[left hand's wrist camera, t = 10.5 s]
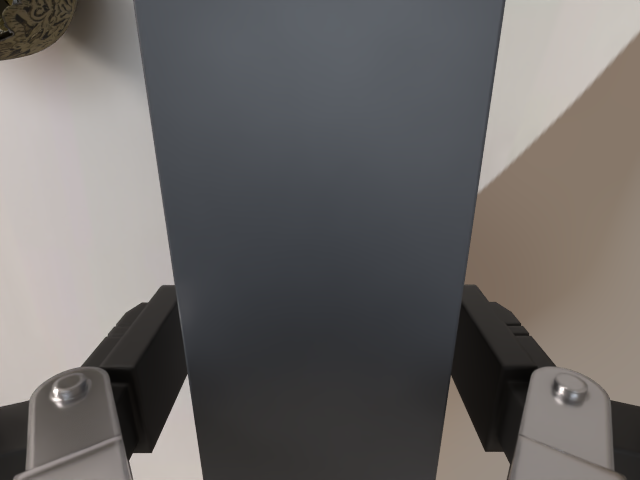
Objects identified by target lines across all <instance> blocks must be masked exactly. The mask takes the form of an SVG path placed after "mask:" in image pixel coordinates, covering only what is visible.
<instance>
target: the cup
mask: <svg viewBox="0 0 640 480" xmlns="http://www.w3.org/2000/svg"><path fill="white" fill-rule="evenodd" d="M77 3H78V0H0V60H8V59H14V58H19V57H24V56H28V55H31V54H34V53H37V52H39V51H41V50H44V49H45V48H47V47H49V46H51V45H52V44H53V43H55V42H56V41H57V40H58V39H59V38H60V37H61V36H62V35H63V33H64V32H65V31H66V30H67V28H68V26H69V24H70V22H71V20H72V17H73V14H74V13H75V10H76V8H77Z"/></svg>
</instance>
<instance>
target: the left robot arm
mask: <svg viewBox="0 0 640 480" xmlns="http://www.w3.org/2000/svg"><path fill="white" fill-rule="evenodd" d="M187 374H188V371H187V364H186V358H185V351H184V344H183V337H182V330H181V323H180V317H179V310H178V303H177V296H176V289H175V285H162V286H161V287H160V288H159V289H158V291H157V292H156V293H155V295H154V296H153V297H152V299H151V300H150V301H149V302H148V303H141V304H139V305H137V306H136V307H134V308H133V309H131V310H129V311H128V312H126V313H125V315H124V316H123V317H122V318H121V319H120V321H119V322H118V323H117V324H116V327H114V328H113V329H112V330H111V331H110V332H109V334H108V337H105V338H104V340H103V341H102V342H101V343H100V344H99V346H98V347H97V348H96V349H95V350H94V352H93V353H92V354H91V355H90V356H89V358H88V359H87V360H86V361H85V362H84V364H83V365H82V366H81V367H79V368H74V369H70V370H67V371H64V372H62V373H59V374H57V375H55V376H53V377H51V378H50V379H48V380H47V381H45V382H44V383H43V384H41V385H40V386H39V387H38V388H37V389H36V390H35V391H34V393H33V394H32V396H31V398H30V400H29V401H25V402H21V403H16V404H12V405H7V406H2V407H0V480H133V476H132V472H131V467H130V463H129V460H130V458H131V456H132V454H133V453H152V451H153V449H154V447H155V445H156V442H157V440H158V438H159V436H160V434H161V431H162V429H163V427H164V425H165V423H166V420H167V418H168V416H169V414H170V411H171V409H172V407H173V405H174V403H175V400H176V398H177V396H178V394H179V392H180V389H181V387H182V385H183V383H184V380H185V378H186V376H187ZM451 376H452V378H453V380H454V383H455V385H456V387H457V389H458V392H459V394H460V396H461V398H462V401H463V403H464V405H465V407H466V409H467V412H468V414H469V416H470V418H471V421H472V423H473V425H474V427H475V430H476V432H477V434H478V436H479V439H480V441H481V443H482V445H483V448H484V450H485V452H504V453H505V455H506V457H507V459H508V461H509V463H510V467H509V472H508V476H507V480H640V406H635V405H630V404H626V403H621V402H616V401H612V400H610V398H609V396H608V394H607V393H606V391H605V390H604V389H603V388H602V387H601V386H600V385H599V384H597V383H596V382H595V381H593V380H592V379H590V378H588V377H587V376H585V375H583V374H581V373H578V372H576V371H573V370H570V369H566V368H561V367H556V365H555V364H554V363H553V362H552V361H551V359H550V358H549V357H548V356H547V355H546V353H545V352H544V351H543V350H542V348H541V347H540V346H539V345H538V344H537V342H536V341H535V340H534V339H533V338H532V336H529V333H528V332H527V330H526V329H525V328H524V327H523V326H521V323H520V322H519V321H518V319H517V318H516V317H515V316H514V315H513V313H512V312H511V311H509V310H507V309H506V308H504V307H503V306H501V305H500V304H498V303H496V302H489V301H488V300H487V299H486V297H485V296H484V295H483V293H482V292H481V291H480V289H479V288H478V287H477V286H476V285H464V288H463V295H462V302H461V309H460V315H459V322H458V329H457V336H456V343H455V350H454V357H453V363H452V370H451Z"/></svg>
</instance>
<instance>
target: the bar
mask: <svg viewBox="0 0 640 480" xmlns="http://www.w3.org/2000/svg"><path fill="white" fill-rule="evenodd" d="M133 2H134V9H135V16H136V23H137V30H138V36H139V43H140V50H141V57H142V64H143V71H144V77H145V84H146V91H147V98H148V105H149V112H150V118H151V125H152V132H153V139H154V146H155V153H156V159H157V166H158V173H159V180H160V187H161V194H162V200H163V207H164V214H165V221H166V228H167V235H168V241H169V248H170V255H171V262H172V269H173V276H174V282H175V289H176V296H177V303H178V310H179V317H180V323H181V330H182V337H183V344H184V351H185V358H186V364H187V371H188V378H189V385H190V392H191V399H192V405H193V412H194V419H195V426H196V433H197V440H198V446H199V453H200V460H201V467H202V474H203V480H436V473H437V466H438V459H439V453H440V446H441V439H442V432H443V425H444V418H445V411H446V405H447V398H448V391H449V384H450V377H451V370H452V363H453V357H454V350H455V343H456V336H457V329H458V322H459V315H460V309H461V302H462V295H463V288H464V281H465V274H466V267H467V261H468V254H469V247H470V240H471V233H472V226H473V220H474V213H475V206H476V199H477V192H478V185H479V178H480V172H481V165H482V158H483V151H484V144H485V137H486V130H487V124H488V117H489V110H490V103H491V96H492V89H493V83H494V76H495V69H496V62H497V55H498V48H499V41H500V35H501V28H502V21H503V14H504V7H505V0H133Z"/></svg>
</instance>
